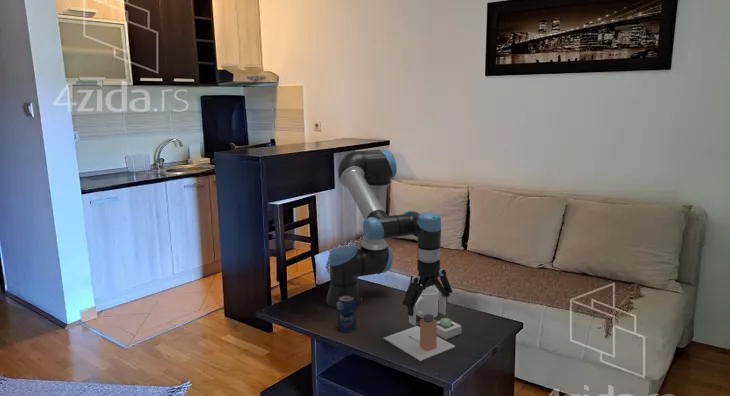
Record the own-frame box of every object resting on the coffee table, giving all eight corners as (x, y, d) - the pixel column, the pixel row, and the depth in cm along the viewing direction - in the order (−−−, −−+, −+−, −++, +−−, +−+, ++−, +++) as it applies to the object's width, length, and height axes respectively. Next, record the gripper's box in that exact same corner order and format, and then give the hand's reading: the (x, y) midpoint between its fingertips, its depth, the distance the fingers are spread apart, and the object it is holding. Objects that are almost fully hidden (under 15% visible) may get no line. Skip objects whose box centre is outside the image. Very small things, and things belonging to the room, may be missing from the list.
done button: (437, 327, 185) (438, 319, 185) (445, 324, 188) (445, 317, 187) (445, 331, 182) (445, 323, 181) (453, 328, 184) (453, 320, 184)
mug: (423, 324, 192) (423, 299, 190) (406, 318, 198) (406, 293, 196) (442, 315, 200) (442, 290, 198) (425, 309, 206) (426, 285, 204)
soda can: (341, 333, 186) (340, 303, 184) (335, 326, 192) (334, 296, 190) (358, 330, 188) (358, 300, 186) (352, 322, 195) (351, 293, 192)
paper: (383, 338, 181) (383, 337, 181) (417, 326, 190) (417, 325, 190) (420, 361, 165) (420, 360, 165) (455, 346, 174) (455, 346, 174)
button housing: (430, 331, 186) (430, 323, 186) (445, 325, 191) (446, 318, 190) (445, 339, 180) (445, 331, 179) (461, 333, 184) (461, 325, 184)
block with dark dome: (420, 346, 174) (420, 315, 172) (428, 343, 176) (429, 312, 174) (427, 351, 171) (427, 319, 169) (436, 347, 173) (436, 316, 171)
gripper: (406, 270, 158) (406, 332, 162) (463, 254, 172) (461, 312, 176) (392, 263, 164) (392, 324, 168) (448, 249, 178) (446, 305, 182)
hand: (427, 318), depth 172 cm, fingers open, 13 cm apart
